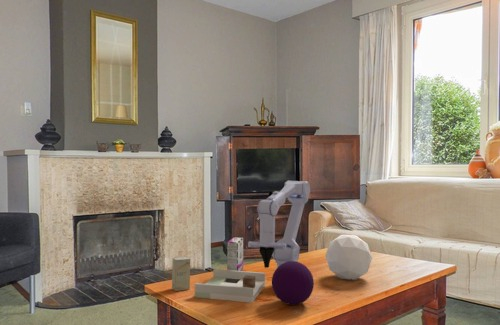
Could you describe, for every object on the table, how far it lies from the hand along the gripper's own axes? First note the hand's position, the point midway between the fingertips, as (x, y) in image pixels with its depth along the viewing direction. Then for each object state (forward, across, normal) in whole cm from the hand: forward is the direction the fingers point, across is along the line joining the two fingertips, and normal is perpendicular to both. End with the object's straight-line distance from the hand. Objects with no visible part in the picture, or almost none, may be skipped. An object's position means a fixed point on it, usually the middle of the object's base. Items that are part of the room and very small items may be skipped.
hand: (266, 267), depth 160 cm
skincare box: (+11, -34, -3) cm, 36 cm away
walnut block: (+8, -7, 0) cm, 11 cm away
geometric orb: (+10, +30, +31) cm, 45 cm away
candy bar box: (+10, -18, +19) cm, 28 cm away
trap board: (+10, -14, 0) cm, 17 cm away
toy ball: (+11, +11, -8) cm, 17 cm away
